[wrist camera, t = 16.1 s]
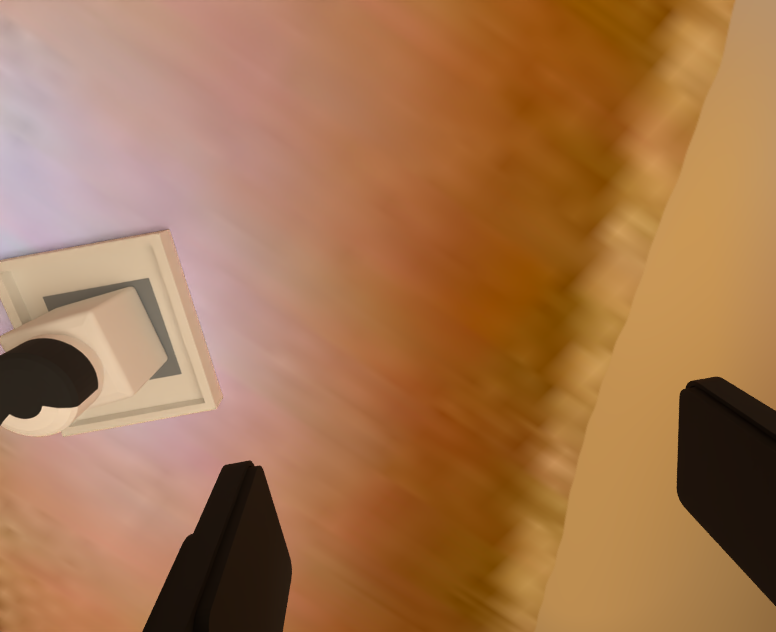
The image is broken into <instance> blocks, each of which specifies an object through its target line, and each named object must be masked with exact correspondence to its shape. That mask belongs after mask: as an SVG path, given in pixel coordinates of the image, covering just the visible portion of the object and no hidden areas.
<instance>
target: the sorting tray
mask: <svg viewBox="0 0 776 632" xmlns="http://www.w3.org/2000/svg"><path fill="white" fill-rule="evenodd" d="M126 287H134V288H135V289H136V291H137V294H138V296H139V298H140V300H141V302H142V304H143V306H144V308H145V310H146V313H147V315H148V317H149V319H150V321H151V323H152V325H153V327H154V329H155V332H156V334H157V336H158V338H159V340H160V342H161V344H162V346H163V348H164V350H165V353H166V355H167V357H168V359H167V361H166V362H165V363H164V364H163V365H162V366H161V367H160V368H159V370H158V371H157V372H156V373H155V374H154V375H153V376H152V377H151V378H150V379H149V380H148V381H147V382H146V383H145V384H144V385H143V386H142V388H141V389H140V390H139V391H138V392H137V393H136V394H135V395H134V396H132V397H130V398H126V399H123V400H119V401H116V402H112V403H109V404H105V405H102V406H98V407H95V408H91V409H88V410H85V411H84V412H83V413H82V414H81V415H80V416H79V417H77V418H76V419H75V420H74V421H73V422H72V423H71V424H70V425H69V426H68V427H66V428H65V429H64V430H62V431H61V433H62V435H63V437H65V436H71V435H76V434H82V433H87V432H93V431H98V430H104V429H109V428H115V427H120V426H126V425H132V424H137V423H143V422H148V421H154V420H159V419H165V418H170V417H176V416H181V415H187V414H193V413H198V412H204V411H209V410H215V409H217V407H218V406H219V404H220V402H221V400H222V399H223V395H222V392H221V389H220V386H219V383H218V380H217V377H216V374H215V370H214V367H213V364H212V361H211V358H210V355H209V352H208V349H207V345H206V342H205V339H204V336H203V333H202V330H201V327H200V323H199V320H198V317H197V314H196V311H195V308H194V305H193V302H192V298H191V295H190V292H189V289H188V286H187V283H186V280H185V276H184V273H183V270H182V267H181V264H180V261H179V258H178V255H177V251H176V248H175V245H174V242H173V239H172V236H171V233H170V230H169V229H168V230H163V231H157V232H152V233H146V234H141V235H135V236H130V237H124V238H119V239H113V240H108V241H102V242H97V243H91V244H86V245H80V246H75V247H69V248H63V249H58V250H52V251H47V252H41V253H36V254H30V255H25V256H19V257H14V258H8V259H3V260H0V299H1V301H2V303H3V306H4V308H5V310H6V312H7V314H8V317H9V319H10V321H11V323H12V325H13V327H14V329H15V328H17V327H19V326H21V325H23V324H25V323H27V322H29V321H31V320H33V319H35V318H37V317H39V316H41V315H43V314H45V313H47V312H49V311H51V310H53V309H55V308H58V307H61V306H64V305H68V304H71V303H75V302H78V301H82V300H85V299H88V298H92V297H95V296H99V295H102V294H105V293H109V292H112V291H116V290H119V289H123V288H126Z"/></svg>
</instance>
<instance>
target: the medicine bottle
mask: <svg viewBox="0 0 776 632" xmlns="http://www.w3.org/2000/svg"><path fill="white" fill-rule="evenodd" d="M0 344H1V345H2V347H3V349H4V350H5V352H6V353H4V354H2V355H0V425H1V426H2V427H4V428H6V429H8V430H10V431H12V432H15V433H18V434H22V435H26V436H35V437H42V436H49V435H53V434H56V433H58V432H60V431H62V430H64V429H65V428H66V427H68V426H69V425H70V424H71V423H72V422H73V421H74V420H75V419H76V418H77V417H79V416H80V415H81V414H82V413H83V412H84V411H85V410H88V409H91V408H95V407H98V406H102V405H105V404H109V403H112V402H116V401H119V400H123V399H126V398H130V397H132V396H134V395H135V394H136V393H137V392H138V391H139V390H140V389H141V388H142V386H143V385H144V384H145V383H146V382H147V381H148V380H149V379H150V378H151V377H152V376H153V375H154V374H155V373H156V372H157V371H158V370H159V368H160V367H161V366H162V365H163V364H164V363H165V362H166V361H167V359H168V357H167V355H166V353H165V350H164V348H163V346H162V344H161V342H160V340H159V338H158V336H157V334H156V332H155V329H154V327H153V325H152V323H151V321H150V319H149V317H148V315H147V313H146V310H145V308H144V306H143V304H142V302H141V300H140V298H139V296H138V294H137V291H136V289H135V288H134V287H126V288H123V289H119V290H116V291H112V292H109V293H105V294H102V295H99V296H95V297H92V298H88V299H85V300H82V301H78V302H75V303H71V304H68V305H64V306H61V307H58V308H55V309H53V310H51V311H49V312H47V313H45V314H43V315H41V316H39V317H37V318H35V319H33V320H31V321H29V322H27V323H25V324H23V325H21V326H19V327H17V328H15V329H13V330H11V331H9V332H7V333H5V334H3V335H2V336H0Z"/></svg>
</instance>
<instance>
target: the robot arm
mask: <svg viewBox="0 0 776 632" xmlns="http://www.w3.org/2000/svg"><path fill="white" fill-rule="evenodd" d="M677 493H678V497H679V499H680V501H681V503H682V505H683V506H684V507H685V508H686V509H687V510H688V512H689V513H690V514H691V515H692V516H693V517H694V518H695V519H696V520H697V521H698V522H699V524H700V525H701V526H702V527H703V528H704V529H705V530H706V531H707V532H708V533H709V534H710V536H711V537H712V538H713V539H714V540H715V541H716V542H717V543H718V544H719V545H720V546H721V547H722V549H723V550H724V551H725V552H726V553H727V554H728V555H729V556H730V557H731V558H732V559H733V560H734V561H735V562H736V564H737V565H738V566H739V567H740V568H741V569H742V570H743V571H744V572H745V573H746V574H747V576H749V578H750V579H751V580H752V581H753V582H754V583H755V584H756V585H757V586H758V588H759V589H760V590H761V591H762V592H763V593H764V594H765V595H766V596H767V597H768V598H769V599H770V600H771V602H772V603H773V604H774V605H775V606H776V411H775V410H773V409H772V408H770V407H768V406H767V405H765V404H763V403H762V402H760V401H758V400H757V399H755V398H754V397H752V396H750V395H749V394H747V393H746V392H744V391H742V390H740V389H739V388H737V387H736V386H734V385H733V384H731V383H729V382H728V381H726V380H724V379H723V378H720V377H711V378H706V379H700V380H694V381H690V382H689V383H688V384H687V386H686V389H683V390H682V391H681V393H680V399H679V432H678V463H677ZM291 576H292V566H291V559H290V556H289V552H288V549H287V546H286V543H285V539H284V536H283V533H282V530H281V526H280V523H279V520H278V516H277V513H276V510H275V507H274V503H273V500H272V497H271V494H270V490H269V487H268V484H267V480H266V477H265V474H264V471H263V468H262V467H261V466H254V464H253V463H252V461H244V462H239V463H233V464H228V465H225V466H223V468H222V470H221V472H220V474H219V476H218V479H217V481H216V483H215V486H214V488H213V490H212V492H211V495H210V497H209V499H208V501H207V504H206V506H205V508H204V510H203V513H202V515H201V517H200V520H199V522H198V524H197V526H196V529H195V531H194V533H193V534H191V535H189V536H188V537H186V539H185V541H184V542H183V544H182V546H181V548H180V551H179V553H178V555H177V557H176V559H175V561H174V564H173V566H172V568H171V570H170V572H169V575H168V577H167V579H166V581H165V583H164V586H163V588H162V590H161V592H160V594H159V596H158V599H157V601H156V603H155V605H154V607H153V610H152V612H151V614H150V616H149V618H148V621H147V623H146V625H145V627H144V629H143V631H142V632H283V626H284V620H285V614H286V608H287V602H288V595H289V589H290V583H291Z"/></svg>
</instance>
